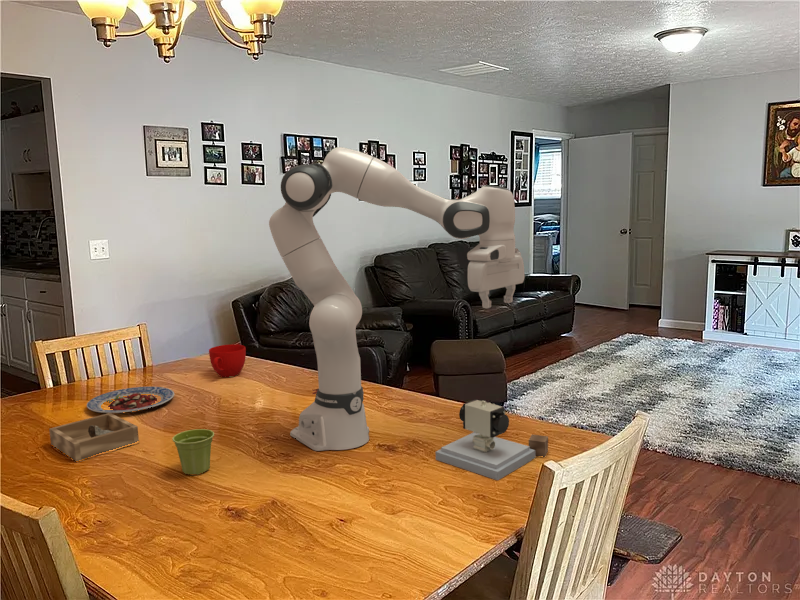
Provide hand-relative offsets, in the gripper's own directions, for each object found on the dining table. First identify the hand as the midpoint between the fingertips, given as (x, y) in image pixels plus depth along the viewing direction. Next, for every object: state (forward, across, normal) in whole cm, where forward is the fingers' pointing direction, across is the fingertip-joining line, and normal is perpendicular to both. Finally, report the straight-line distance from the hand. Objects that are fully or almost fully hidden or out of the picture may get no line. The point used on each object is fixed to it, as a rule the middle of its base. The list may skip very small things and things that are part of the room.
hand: (497, 305), depth 163 cm
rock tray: (+34, +72, -79) cm, 113 cm away
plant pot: (+35, +63, -43) cm, 84 cm away
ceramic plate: (+35, +50, -105) cm, 122 cm away
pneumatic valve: (+32, +15, +6) cm, 36 cm away
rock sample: (+34, +70, -77) cm, 110 cm away
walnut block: (+35, +3, +14) cm, 38 cm away
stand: (+35, +14, +6) cm, 38 cm away
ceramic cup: (+35, +14, -109) cm, 116 cm away
